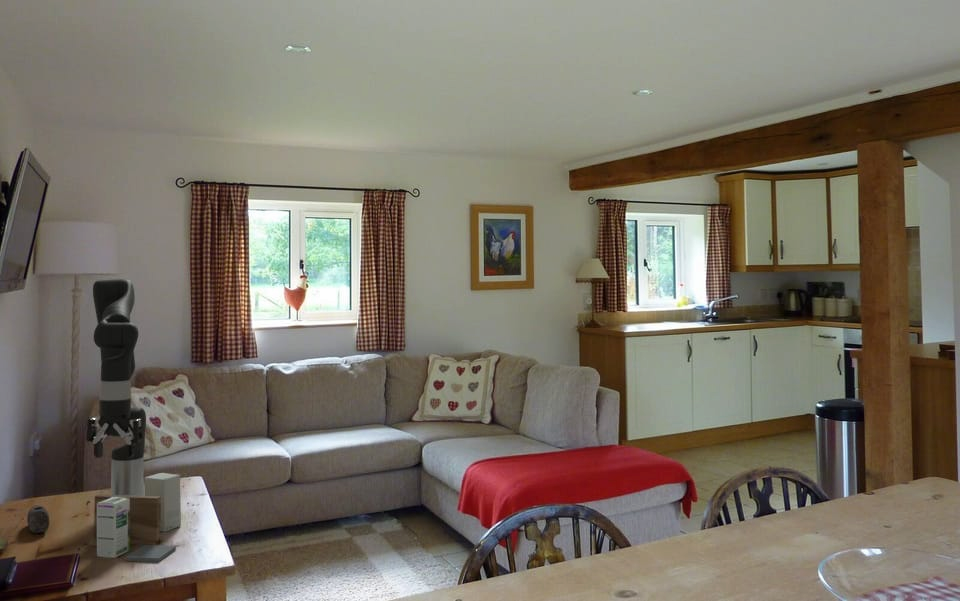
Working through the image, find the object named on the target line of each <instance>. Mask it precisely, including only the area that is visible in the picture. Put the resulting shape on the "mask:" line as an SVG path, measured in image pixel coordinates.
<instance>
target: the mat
mask: <svg viewBox="0 0 960 601" xmlns="http://www.w3.org/2000/svg"><path fill="white" fill-rule="evenodd" d="M176 550H177V546H176V545H173V546H172V545H156V546H154V545H142V546H140V547H139V548H137V549H136V550H133V551H132V552H131V553H129V554H128V555H126V556H125V559H124V561H125V562H141V563H142V562H145V563H146V562H148V563H160V562H161V561H162V560H164V559H165V558H167V557H168V556H170V555H171V554H173V552H176Z"/></svg>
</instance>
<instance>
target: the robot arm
mask: <svg viewBox="0 0 960 601" xmlns="http://www.w3.org/2000/svg"><path fill="white" fill-rule="evenodd" d="M92 298H93V305H94V310H95V315H96V321H97V325H96V327H95V329H94V333H93V342H94V344H95V345H96V346H97V347H98V348H99V349H100V350H99V351H100V360H101V365H100V385H99V393H98V394H99V396H98V397H99V401H98V402H99V404H98V407H99V409H98V412H99V413H98V414H99V418H97V417H91V418H89V419H88V420H87V424H86V425H87V427H86V441H87V442H90V443H92V444H93V455H94V456H95V459H99V458H102V457H103V456H104V453H103V452H104V443H103V441H104V439H105V438H106V437H108V436H109V437H116V438H117V437H121V438H122V439H123V440H124V441H125V443H126V444H125V445H121V446H118V447H115V448H114V449H112V451H111V463H110V464H111V466H110V468H111V469H110V470H111V471H110V472H111V474H110V475H111V478H110V479H111V480H110V483H111V484H110V486H111V487H110V495H134V496H145V481H144V478H145V477H144V464H145V463H144V460H145V458H144V453H145V444H146V430H147V428H146V427H147V413H146V411H145V409H144V408H143V407H139V406H138V407H135V406H134V407H133V406H132V385H131V378H132V377H133V375H134V372H135V371H136V370H135V369H136V361H135V360H136V359H135V351H134V350H135V347H136V345H137V342H138V338H139V329H138V326H137V325H135V324H134V323H132V322H131V314H132V312H133V308H134V305H135V289H134V284H133V283H132V281H131V280H129V279H126V278H125V279H124V278H119V279H102V280H96V281H95V282H94V283H93V285H92ZM98 426H99V427H100V430H99V431H98V432H97V429H98Z"/></svg>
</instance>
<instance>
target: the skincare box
mask: <svg viewBox="0 0 960 601" xmlns="http://www.w3.org/2000/svg"><path fill="white" fill-rule="evenodd" d="M143 478H144V496H161V531H160V532H163V533H165V532H168V531H172V530H174V528H175V529H177V528H180V527H181V526H182V514H181V510H182V508H181V474H176V473H175V474H174V473H167V472H166V473H165V472H160V473H159V472H158V473H156V474H152V475H149V476H145V477H143Z"/></svg>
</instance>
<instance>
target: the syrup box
mask: <svg viewBox="0 0 960 601" xmlns="http://www.w3.org/2000/svg"><path fill="white" fill-rule="evenodd" d="M130 545H131V544H130V499H129V498H124V497H111V498H109V499H107V500H104V501H102V502H98V503H97V546H96V556H97V557H99V558H100V557H101V558H106V559H117V558H118V557H119V556H122V555H125V554H126V553H128V552H130V551H131V548H130V547H131V546H130Z"/></svg>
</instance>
